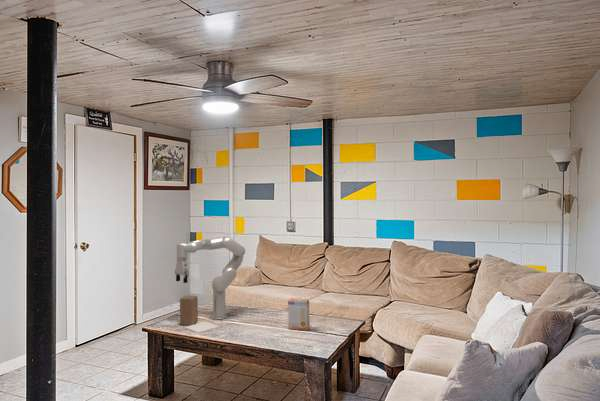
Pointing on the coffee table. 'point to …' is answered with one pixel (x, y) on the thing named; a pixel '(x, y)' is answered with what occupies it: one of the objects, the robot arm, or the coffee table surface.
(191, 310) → the wooden block
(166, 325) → the coffee table surface
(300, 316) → the cracker box
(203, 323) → the mat
